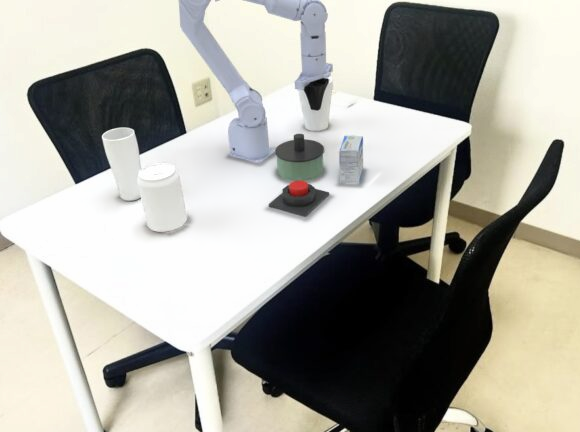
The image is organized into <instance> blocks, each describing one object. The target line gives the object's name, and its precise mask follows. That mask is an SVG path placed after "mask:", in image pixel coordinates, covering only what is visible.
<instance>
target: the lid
mask: <svg viewBox="0 0 580 432" xmlns="http://www.w3.org/2000/svg"><path fill="white" fill-rule="evenodd" d="M274 149H275V152H274V154H275V156H276V158H277V157H278V158H279V159H281V160H284V161H288V162H307V161H312V160H315V159H317V158H319V157H320V156H322V155H323V156H324V153H325V146H324V145H323V144H322V143H321V142H319V141H318V140H317V141H316V140H312V139H306V138H305V134H303V133H295V134H293V139H292V140H291V139H290V140H287V141H284V142H282V143H280V144H278V145H277V146H276V147H275V148H274Z"/></svg>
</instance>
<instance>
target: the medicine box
mask: <svg viewBox="0 0 580 432" xmlns="http://www.w3.org/2000/svg"><path fill="white" fill-rule="evenodd" d="M338 165H339V166H338V167H339V168H338V171H339V184H349V185H360V182H361V179H362V175H363V171H364V170H363V169H364V136H362V135H344V136H343V139H342V142H341V145H340V147H339V150H338Z"/></svg>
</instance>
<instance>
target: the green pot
mask: <svg viewBox="0 0 580 432" xmlns="http://www.w3.org/2000/svg"><path fill="white" fill-rule="evenodd" d="M276 167H277V174H278V175H279V177H281V178H283V179H284V180H287V181H291V182H294V181H305V182H307V181H311V180H313V179H316V178H318V177H319V176H321V175H322V174H323V172H324V154H323V155H322V156H320V157H319V158H317V159H315V160H312V161H307V162H288V161H284V160H281V159H279V158H278V157H277V156H276Z"/></svg>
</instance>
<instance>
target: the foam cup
mask: <svg viewBox="0 0 580 432" xmlns="http://www.w3.org/2000/svg"><path fill="white" fill-rule="evenodd" d="M328 79H329V83H328V85H327V87H326V89H325V92H324V96H323V100H322V105H321V109H320V110H318V111H316V110H311V108H310V105H309V102H308V99H307V96H306V94H305V92H304V90H298V89H296V91H298V97H299V102H300V107H301V113H302V118H303V119H302V120H303V124H304V128H305V129H306V130H308V131H311V132H320V131H324V130H326V129H328V128H329V123H330V122H329V121H330V112H331V104H332V95H333V90H334V78H333V77H332V76H330V77H328Z"/></svg>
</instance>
